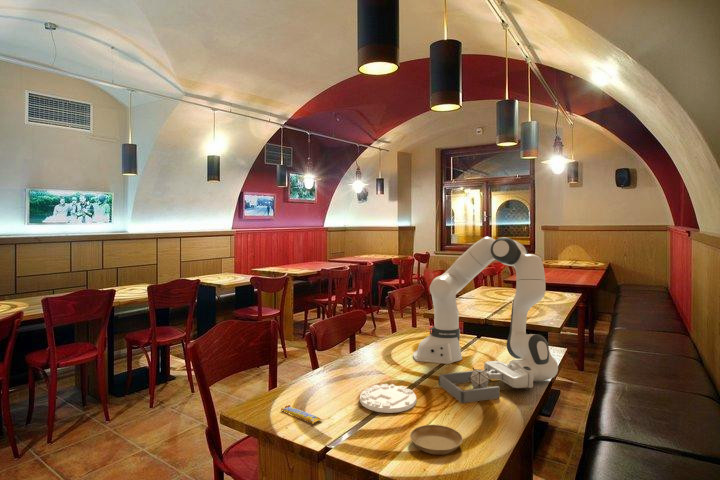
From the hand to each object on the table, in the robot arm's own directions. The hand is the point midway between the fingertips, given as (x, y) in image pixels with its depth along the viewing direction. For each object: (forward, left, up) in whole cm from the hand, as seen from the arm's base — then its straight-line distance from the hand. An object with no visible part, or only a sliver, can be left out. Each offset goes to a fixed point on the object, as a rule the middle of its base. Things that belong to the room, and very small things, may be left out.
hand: (486, 375), depth 165 cm
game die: (-3, -1, -5) cm, 6 cm away
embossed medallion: (-36, -16, -6) cm, 40 cm away
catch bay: (-7, -3, -5) cm, 9 cm away
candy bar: (-64, -31, -6) cm, 71 cm away
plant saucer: (-20, -44, -5) cm, 49 cm away
